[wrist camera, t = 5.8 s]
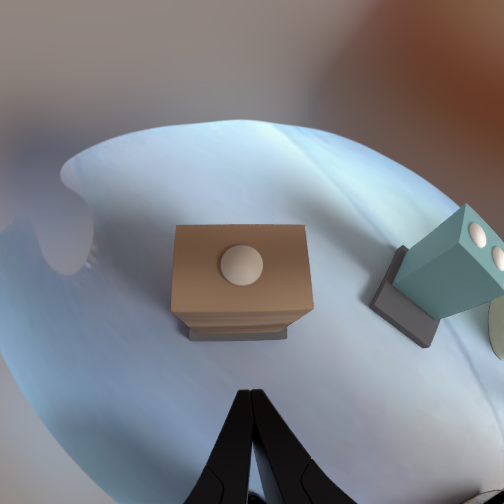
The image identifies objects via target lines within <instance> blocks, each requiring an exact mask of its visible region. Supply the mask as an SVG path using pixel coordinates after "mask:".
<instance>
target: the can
mask: <svg viewBox="0 0 504 504" xmlns="http://www.w3.org/2000/svg"><path fill="white" fill-rule="evenodd" d="M488 328H489V336H490V341H491V345H492V348H493V350H494V352H495V354H496V355H497V357H498V358H500V359H501V360H504V295H503V296H501V297H498V298H496V299H493V300H492V301H491V304H490V308H489V316H488Z"/></svg>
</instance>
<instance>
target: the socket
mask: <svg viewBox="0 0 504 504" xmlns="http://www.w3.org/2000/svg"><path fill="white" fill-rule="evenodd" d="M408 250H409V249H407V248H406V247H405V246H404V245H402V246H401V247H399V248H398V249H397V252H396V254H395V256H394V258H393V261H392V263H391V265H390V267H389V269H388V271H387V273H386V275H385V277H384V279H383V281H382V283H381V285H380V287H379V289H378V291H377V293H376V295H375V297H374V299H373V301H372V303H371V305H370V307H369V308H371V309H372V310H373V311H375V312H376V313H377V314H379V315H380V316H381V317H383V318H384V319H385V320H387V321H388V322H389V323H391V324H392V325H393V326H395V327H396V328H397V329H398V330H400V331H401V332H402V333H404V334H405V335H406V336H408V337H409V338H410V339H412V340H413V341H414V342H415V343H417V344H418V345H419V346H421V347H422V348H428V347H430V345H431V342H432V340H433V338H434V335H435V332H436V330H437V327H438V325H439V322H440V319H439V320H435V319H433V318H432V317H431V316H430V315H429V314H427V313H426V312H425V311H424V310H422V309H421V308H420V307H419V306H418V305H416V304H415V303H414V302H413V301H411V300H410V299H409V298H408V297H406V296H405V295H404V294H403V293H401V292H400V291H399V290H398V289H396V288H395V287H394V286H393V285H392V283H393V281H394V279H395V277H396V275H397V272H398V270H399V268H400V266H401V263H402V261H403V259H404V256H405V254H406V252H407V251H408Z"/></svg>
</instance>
